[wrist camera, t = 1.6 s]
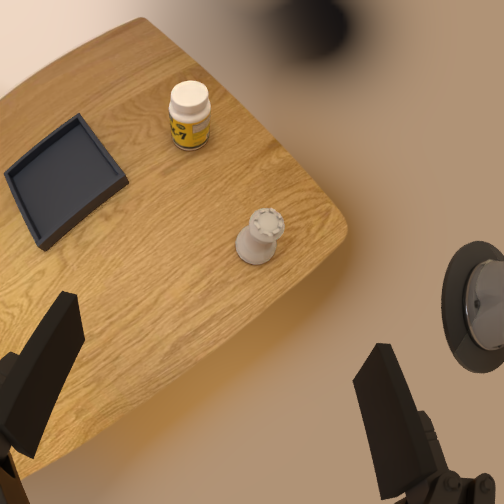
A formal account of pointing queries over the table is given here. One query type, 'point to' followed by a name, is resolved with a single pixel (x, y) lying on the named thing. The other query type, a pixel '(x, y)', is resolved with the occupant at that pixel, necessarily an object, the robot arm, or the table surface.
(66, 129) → the dark tray
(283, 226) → the rook chess piece
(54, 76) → the table surface
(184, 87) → the supplement bottle
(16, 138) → the table surface
